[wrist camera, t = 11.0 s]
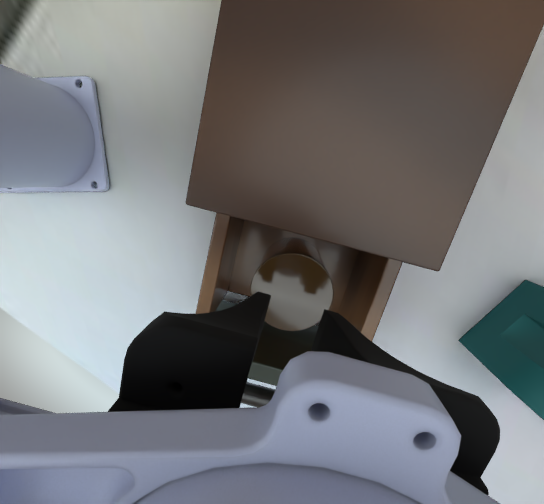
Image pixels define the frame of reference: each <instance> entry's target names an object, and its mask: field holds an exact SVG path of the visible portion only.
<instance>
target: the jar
mask: <svg viewBox="0 0 544 504" xmlns="http://www.w3.org/2000/svg"><path fill="white" fill-rule="evenodd" d="M256 292H262V293H266V294H269V295H271V299H270V302H269V306H268V310H267V313H266V317H265V322H266V323H268V324H269V325H271V326H273V327H275V328H278V329H281V330H285V331H299V330H304V329H307V328H310V327H312V326H314V325H315V324H317V323H318V322H320V321H321V318H322V315H323V311H324V309H325V310H329V309H330V307H331V305H332V301H333V294H334V292H333V284H332V281H331V278H330V275H329V273H328V271H327V269H326V267H325V264H324V261H323V259H322V256H321V254H320V252H319V251H318V249H317V248H316V247H315V246H314V245H313V244H311V243H310V242H308V241H306V240H304V239H301V238H296V237H288V238H283V239H280V240H278V241H276V242H274V243H273V244H271V245H270V246H269V247H268V248H267V250H266V251H265V253H264V255H263V257H262V259H261V261H260V264H259V266H258V268H257V270H256V272H255V274H254V276H253V279H252V282H251V287H250V296H252V295H253V294H254V293H256Z"/></svg>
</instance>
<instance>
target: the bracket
mask: <svg viewBox="0 0 544 504" xmlns="http://www.w3.org/2000/svg"><path fill="white" fill-rule="evenodd" d="M459 341H460V342H461V343H462V344H463V345H464V346H465V347H466V348H467V349H468V350H469V351H470V352H471V353H472V354H473V355H474V356H475V357H476V358H477V359H478V360H479V361H480V362H481V363H482V364H483V365H484V366H486V367H487V368H488V369H489V370H490V371H491V372H492V373H493V374H494V375H495V376H496V377H497V378H498V379H499V380H500V381H501V382H502V383H503V384H504V385H505V386H506V387H508V388H509V389H510V390H511V391H512V392H513V393H514V394H515V395H516V396H517V397H518V398H520V399H521V400H522V401H523V402H524V403H525V404H526V405H527V406H528V407H530V408H531V409H532V410H533V411H534V412H535V413H536V414H538V415H539V416H540V417H541V418H542V419H543V420H544V287H542V286H540V285H537V284H535V283H533V282H530V281H528V280H525V281H524V282H523V283H522V284H521V285H519V286H518V287H517V288H516V289H515V290H514V291H513V292H512V293H511V294H509V295H508V296H507V297H506V298H505V299H504V300H503V301H502V302H501V303H499V304H498V305H497V306H496V307H495V308H494V309H493V310H492V311H491V312H490V313H488V314H487V315H486V316H485V317H484V318H483V319H482V320H481V321H480V322H478V323H477V324H476V325H475V326H474V327H473V328H472V329H471V330H470V331H468V332H467V333H466V334H465V335H464V336H463V337H462V338H461V339H460V340H459Z"/></svg>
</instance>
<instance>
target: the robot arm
mask: <svg viewBox="0 0 544 504" xmlns="http://www.w3.org/2000/svg"><path fill="white" fill-rule="evenodd" d="M80 82H82V87H81V88H80V86H79V83H80ZM95 182H96V183H97V188H96V187H95V185H94V183H95ZM108 189H109V178H108V171H107V163H106V156H105V149H104V142H103V135H102V128H101V120H100V113H99V106H98V99H97V92H96V85H95V82H94V80H93V79H91V78H90V77H88V76H67V77H42V78H33V77H31V76H28V75H26V74H23V73H21V72H18V71H16V70H13V69H11V68H8V67H6V66H3V65H1V64H0V193H4V192H104V191H107V190H108ZM270 299H271V295H269V294H266V293H262V292H256V293H254V294H253V295H252V296H250V297H249V298H247V299H246V300H244V301H242V302H241V303H239V304H237V305H235V306H233V307H230V308H227V309H224V310H220V311H215V312H209V313H201V314H181V313H171V312H164V313H162V314H161V315H160V316H158V317H157V318H156V319H154V320H153V321H152V322H151V323H150V324H149V325H148V326H147V327H146V328H145V329H144V330H143V331H142V332H141V333H140V334H139V335H138V336H137V337H136V338H135V339H134V340H133V341H132V343H131V344H130V346H129V347H128V349H127V352H126V356H125V359H124V366H123V373H122V380H121V387H120V394H119V398H118V400H117V401H116V402H115V403H114V405H113V406H112V407H111V408H110V409H109V411H108V412H88V413H53V412H50V411H46V410H42V409H39V408H35V407H31V406H28V405H24V404H21V403H17V402H13V401H10V400H6V399H2V398H0V504H500V503H498V502H497V501H495V500H494V499H492V498H491V497H489V496H488V489H487V487H486V486H485V484H484V483H483V481H482V479H481V478H480V477H481V475H482V474H483V472H484V470H485V468H486V467H487V465H488V463H489V461H490V460H491V458H492V456H493V454H494V453H495V451H496V448H497V446H498V443H499V440H500V428H499V425H498V421H497V419H496V417H495V416H494V415H493V413H492V412H491V411H490V409H489V408H488V407H487V406H486V405H485V403H484V402H483V401H482V400H481V399H480V398H479V397H478V396H476V395H473V394H470V393H468V392H465V391H462V390H460V389H457V388H454V387H452V386H449V385H447V384H444V383H442V382H440V381H437V380H435V379H433V378H431V377H429V376H426V375H424V374H422V373H420V372H418V371H416V370H415V369H413V368H411V367H409V366H407V365H406V364H404V363H402V362H400V361H399V360H397V359H395V358H394V357H392V356H391V355H389V354H388V353H386V352H385V351H383V350H382V349H381V348H379V347H378V346H377V345H375V344H374V343H373V342H372V341H370V340H369V339H368V338H367V337H365V336H364V335H363V334H362V333H361V332H360V331H359V330H357V329H356V328H355V327H354V326H353V325H352V324H351V323H350V322H349V321H347V320H346V319H345V318H344V317H343V316H342V315H340V314H339V313H336V312H333V311H329V310H325V309H324V311H323V315H322V318H321V321H320V324H319V327H318V330H317V333H316V336H315V339H314V342H313V345H312V348H311V351H307V352H305V353H303V354H301V355H299V356H297V357H295V358H293V359H290V361H289V362H288V364H287V365H286V367H285V368H284V370H283V371H282V372H281V374H280V377H279V380H278V383H277V387H276V390H275V393H274V395H273V397H272V399H271V400H270V401H269V403H268V404H266V405H264V406H262V407H257V408H239V407H240V404H241V400H242V396H243V393H244V389H245V385H246V382H247V378H248V374H249V371H250V367H251V364H252V361H253V359H254V356H255V353H256V350H257V346H258V342H259V339H260V335H261V332H262V328H263V324H264V321H265V317H266V313H267V310H268V306H269V302H270Z"/></svg>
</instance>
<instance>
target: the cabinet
mask: <svg viewBox="0 0 544 504" xmlns="http://www.w3.org/2000/svg"><path fill="white" fill-rule="evenodd" d="M543 25H544V0H222V1H221V7H220V12H219V18H218V24H217V29H216V35H215V41H214V46H213V52H212V57H211V63H210V69H209V74H208V80H207V86H206V91H205V97H204V102H203V108H202V114H201V119H200V125H199V130H198V136H197V142H196V147H195V153H194V159H193V164H192V170H191V175H190V181H189V187H188V192H187V198H186V204H187V205H190V206H194V207H198V208H201V209H205V210H209V211H213V212H216V213H220V214H224V215H228V216H231V217H235V218H239V219H243V220H246V221H250V222H254V223H258V224H261V225H265V226H269V227H273V228H276V229H280V230H284V231H288V232H292V233H295V234H299V235H303V236H307V237H310V238H314V239H318V240H322V241H325V242H329V243H333V244H337V245H340V246H344V247H348V248H352V249H355V250H359V251H363V252H367V253H370V254H374V255H378V256H382V257H386V258H389V259H393V260H397V261H401V262H404V263H408V264H412V265H416V266H419V267H423V268H427V269H431V270H434V271H439V270H440V268H441V266H442V263H443V261H444V259H445V256H446V254H447V252H448V249H449V247H450V245H451V242H452V240H453V237H454V235H455V233H456V230H457V228H458V226H459V223H460V221H461V219H462V216H463V214H464V211H465V209H466V207H467V204H468V202H469V200H470V197H471V195H472V193H473V190H474V188H475V185H476V183H477V181H478V178H479V176H480V174H481V171H482V169H483V167H484V164H485V162H486V159H487V157H488V155H489V152H490V150H491V148H492V145H493V143H494V141H495V138H496V136H497V134H498V131H499V129H500V126H501V124H502V122H503V119H504V117H505V115H506V112H507V110H508V108H509V105H510V103H511V100H512V98H513V96H514V93H515V91H516V89H517V86H518V84H519V82H520V79H521V77H522V74H523V72H524V70H525V67H526V65H527V63H528V60H529V58H530V56H531V53H532V51H533V48H534V46H535V44H536V41H537V39H538V37H539V34H540V32H541V30H542V27H543Z"/></svg>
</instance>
